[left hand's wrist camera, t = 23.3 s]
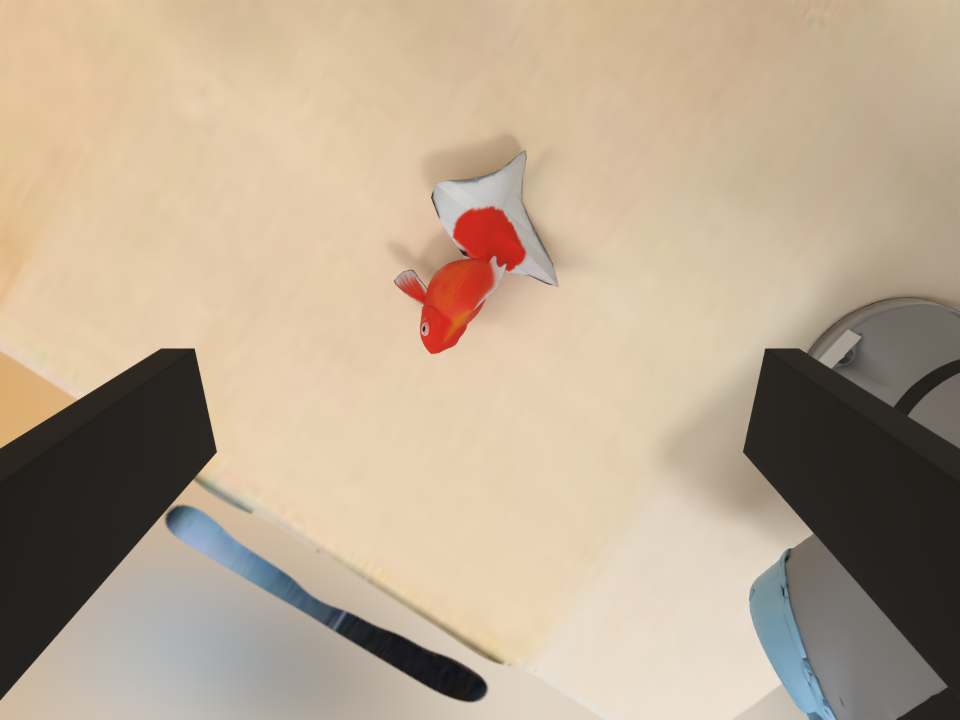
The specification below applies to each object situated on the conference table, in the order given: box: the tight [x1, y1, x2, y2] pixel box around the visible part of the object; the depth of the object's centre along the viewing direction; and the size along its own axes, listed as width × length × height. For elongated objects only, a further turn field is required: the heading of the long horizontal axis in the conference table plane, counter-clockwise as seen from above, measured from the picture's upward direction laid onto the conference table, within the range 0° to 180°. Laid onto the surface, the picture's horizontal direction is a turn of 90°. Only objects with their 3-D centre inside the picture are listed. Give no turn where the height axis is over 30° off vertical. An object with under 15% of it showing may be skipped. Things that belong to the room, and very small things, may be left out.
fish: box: [394, 151, 559, 354], centre depth 39 cm, size 11×16×10 cm
